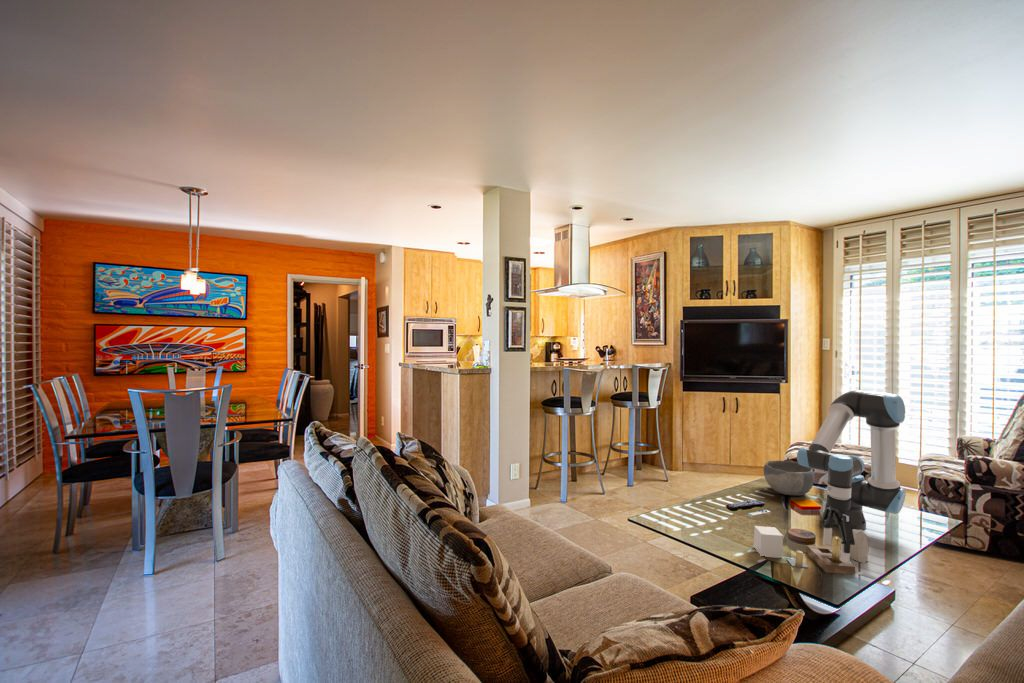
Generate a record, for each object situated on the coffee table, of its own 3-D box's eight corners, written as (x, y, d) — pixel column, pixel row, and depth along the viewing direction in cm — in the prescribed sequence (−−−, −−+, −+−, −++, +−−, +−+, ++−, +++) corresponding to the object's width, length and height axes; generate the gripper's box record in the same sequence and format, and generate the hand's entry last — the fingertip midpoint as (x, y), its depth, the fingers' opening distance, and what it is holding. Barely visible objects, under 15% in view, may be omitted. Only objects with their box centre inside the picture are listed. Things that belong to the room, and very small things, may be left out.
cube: (774, 548, 204) (775, 527, 204) (781, 558, 196) (783, 535, 196) (753, 547, 205) (754, 525, 205) (760, 556, 197) (761, 534, 197)
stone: (837, 552, 202) (839, 524, 202) (846, 551, 204) (848, 523, 204) (862, 564, 193) (863, 535, 192) (871, 562, 194) (873, 533, 194)
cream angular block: (801, 561, 194) (802, 547, 194) (808, 568, 189) (809, 554, 189) (786, 559, 195) (787, 546, 195) (792, 566, 190) (793, 552, 189)
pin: (836, 567, 190) (838, 536, 190) (840, 570, 188) (842, 539, 187) (829, 566, 191) (831, 535, 190) (832, 569, 188) (834, 538, 187)
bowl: (771, 498, 263) (772, 470, 262) (756, 483, 287) (757, 458, 286) (821, 502, 259) (823, 474, 258) (802, 487, 283) (804, 461, 282)
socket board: (806, 552, 202) (806, 545, 202) (833, 554, 200) (833, 547, 200) (825, 572, 186) (826, 564, 186) (854, 574, 185) (855, 566, 184)
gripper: (812, 485, 201) (810, 537, 202) (845, 508, 176) (842, 567, 177) (833, 486, 200) (830, 539, 201) (868, 509, 175) (864, 569, 176)
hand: (835, 552), depth 189 cm, fingers open, 12 cm apart
